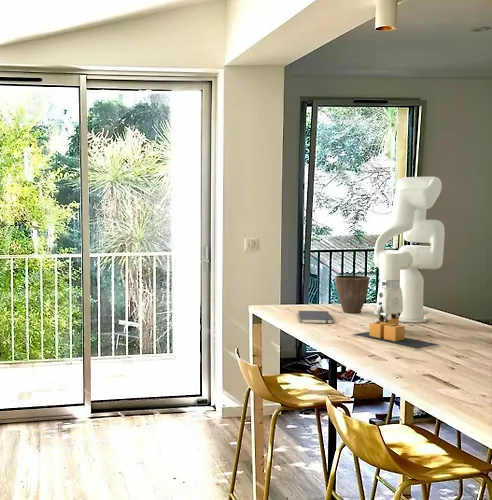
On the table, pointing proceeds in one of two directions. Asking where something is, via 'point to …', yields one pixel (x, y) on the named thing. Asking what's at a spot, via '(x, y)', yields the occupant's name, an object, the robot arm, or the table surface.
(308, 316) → the notebook
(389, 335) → the letter I
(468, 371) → the table surface
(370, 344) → the table surface
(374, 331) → the letter L
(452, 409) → the table surface
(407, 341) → the word mat
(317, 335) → the table surface
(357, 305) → the flower pot
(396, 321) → the letter T
